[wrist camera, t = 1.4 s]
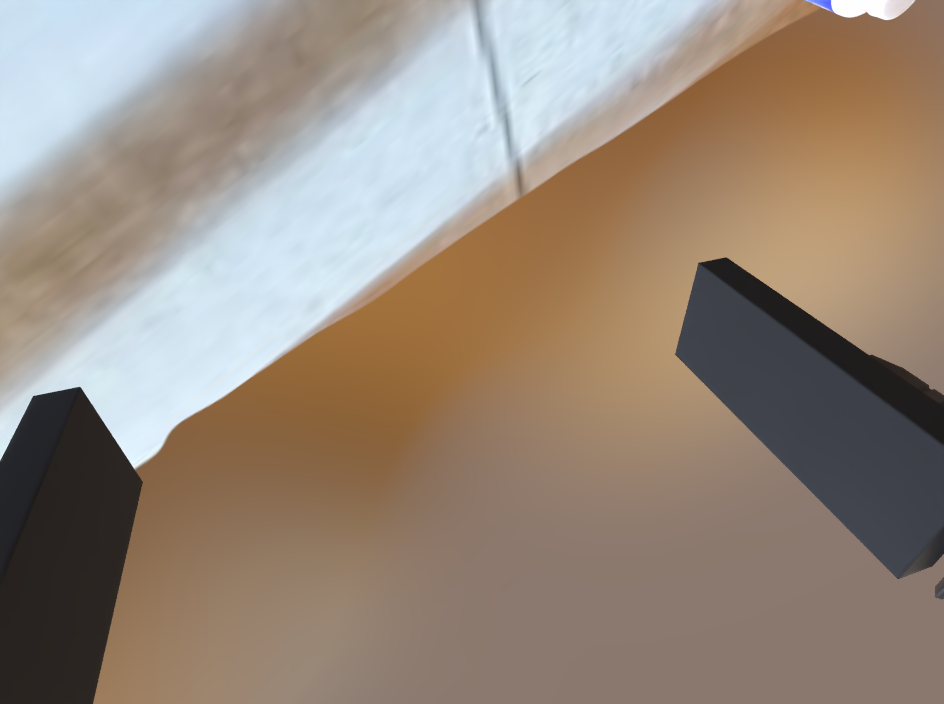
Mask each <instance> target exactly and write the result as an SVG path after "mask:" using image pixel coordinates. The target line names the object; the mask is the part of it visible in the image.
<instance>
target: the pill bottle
mask: <svg viewBox="0 0 944 704" xmlns="http://www.w3.org/2000/svg"><path fill="white" fill-rule="evenodd" d="M806 1H808V2H810V3H813V4H815V5H817V6H820V7H822V8H824V9H827V10H829V11H831V12H833V13H836V14H839V15H841V16H844V17H855V16H859V15H861V14H863V13H865V12H868V13H869V14H870V15H871V16H875V17H879V18H881V19H885V20H890V19H893V18H895V17H897V16H899V15H900V14H902V13H903V12H904V11H905V10H907V9H908V8H909V7H910V6H911V5H912V4H913V3H914V1H915V0H806Z"/></svg>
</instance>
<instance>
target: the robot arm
mask: <svg viewBox="0 0 944 704" xmlns="http://www.w3.org/2000/svg"><path fill="white" fill-rule="evenodd" d="M675 355H676V356H677V357H678V358H679V359H680V360H681V361H682V362H683V363H684V364H685V365H686V366H687V367H688V368H689V369H690V370H691V371H692V372H693V373H694V374H695V375H696V376H697V377H698V378H699V379H700V380H701V381H702V382H703V383H704V384H705V385H706V386H707V387H708V388H709V389H710V390H711V391H712V392H713V393H714V394H715V395H716V396H717V397H718V398H719V399H720V400H721V401H722V402H723V403H724V404H725V405H726V406H727V407H728V408H729V409H730V410H731V411H732V412H733V413H734V414H735V415H736V416H737V417H738V418H739V419H740V420H741V421H742V422H743V423H744V424H745V425H746V426H747V427H748V428H749V429H750V431H751V432H753V434H754V435H755V436H756V437H757V438H758V439H759V440H761V441H762V442H763V444H764V445H765V446H766V447H767V448H768V449H769V450H770V451H771V452H772V453H773V454H774V455H775V456H776V457H777V458H778V459H779V460H780V461H781V462H782V463H783V464H784V465H785V466H786V467H787V468H788V469H789V470H790V471H791V472H792V473H793V474H794V475H795V476H796V477H797V478H798V479H799V480H800V481H801V482H802V483H803V484H804V485H805V486H806V487H807V488H808V489H809V490H810V491H811V492H812V493H813V494H814V495H815V496H816V497H817V498H818V499H819V500H820V501H821V502H822V503H823V504H824V505H825V506H826V507H827V508H828V509H829V510H830V511H831V512H832V513H833V514H834V515H835V516H836V517H837V518H838V519H839V520H840V521H841V522H842V523H843V524H844V525H845V526H846V527H847V528H848V529H849V530H850V531H851V532H852V533H853V534H854V535H855V536H856V537H857V538H858V539H859V540H860V541H861V542H862V543H863V544H864V545H865V546H866V547H867V548H868V549H869V550H870V551H871V552H872V553H873V554H874V555H875V556H876V557H877V559H879V560H880V562H881V563H882V564H883V565H884V566H885V567H886V568H887V569H888V570H889V571H891V573H893V575H894V576H895V577H896V578H897V579H900V578H903V577H905V576H908V575H910V574H913V573H916V572H918V571H921V570H924V569H926V568H929V567H932V566H933V565H934V564H935V563H936V562H937V560H939V558H940V557H941V556H942V555H943V554H944V395H942V394H941V393H939V392H938V391H936V390H935V389H933V390H931V389H930V388H929V385H928V384H926V383H925V382H923V381H921V380H920V379H919V378H917V377H916V376H914V375H913V374H911V373H909V372H908V371H906V370H905V369H904V368H902V367H899V366H897V365H895V364H892V363H890V362H887V361H885V360H883V359H881V358H878V357H876V356H874V355H868V354H866V353H865V352H863V351H862V350H861V349H859V348H858V347H856V346H855V345H853V344H852V343H850V342H849V341H847V340H846V339H845V338H843V337H842V336H840V335H839V334H837V333H836V332H834V331H833V330H831V329H830V328H828V327H827V326H825V325H824V324H823V323H821V322H820V321H818V320H817V319H815V318H814V317H812V316H811V315H810V314H808V313H807V312H805V311H804V310H802V309H801V308H799V307H798V306H796V305H795V304H794V303H792V302H790V301H789V300H788V299H786V298H784V297H783V296H782V295H780V294H779V293H777V292H776V291H775V290H773V289H772V288H770V287H769V286H767V285H766V284H764V283H763V282H761V281H760V280H759V279H757V278H756V277H754V276H753V275H751V274H750V273H748V272H747V271H745V270H744V269H742V268H741V267H740V266H738V265H737V264H735V263H734V262H732V261H731V260H729V259H728V258H721V259H716V260H712V261H706V262H701V263H698V267H697V271H696V275H695V279H694V283H693V287H692V291H691V295H690V299H689V303H688V306H687V310H686V314H685V318H684V322H683V326H682V330H681V334H680V338H679V341H678V346H677V349H676V354H675ZM142 483H143V482H142V480H141V479H140V477H139V476H138V474H137V473H136V471H135V470H134V468H133V466H132V465H131V463H130V462H129V460H128V459H127V457H126V456H125V454H124V453H123V451H122V450H121V448H120V447H119V445H118V444H117V442H116V441H115V439H114V438H113V436H112V434H111V433H110V431H109V430H108V428H107V427H106V425H105V424H104V422H103V421H102V419H101V418H100V416H99V415H98V413H97V412H96V410H95V409H94V407H93V405H92V404H91V402H90V401H89V399H88V398H87V396H86V395H85V393H84V392H83V390H82V389H81V387H77V388H72V389H67V390H62V391H57V392H52V393H47V394H42V395H37V396H33V398H32V400H31V402H30V404H29V406H28V407H27V409H26V411H25V413H24V415H23V417H22V419H21V421H20V423H19V425H18V427H17V429H16V431H15V433H14V435H13V437H12V439H11V441H10V443H9V445H8V447H7V449H6V451H5V453H4V455H3V457H2V459H1V461H0V704H93V701H94V696H95V692H96V687H97V683H98V678H99V674H100V670H101V665H102V661H103V656H104V652H105V647H106V643H107V639H108V634H109V629H110V625H111V620H112V616H113V612H114V607H115V603H116V599H117V594H118V590H119V585H120V581H121V576H122V571H123V567H124V563H125V559H126V554H127V550H128V545H129V541H130V536H131V532H132V527H133V523H134V518H135V513H136V510H137V505H138V501H139V496H140V492H141V487H142ZM935 597H936V598H939V599H944V577H943V578H942V580H941V581H940V582H939V583H938V584H937V585H936V586H935Z"/></svg>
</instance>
